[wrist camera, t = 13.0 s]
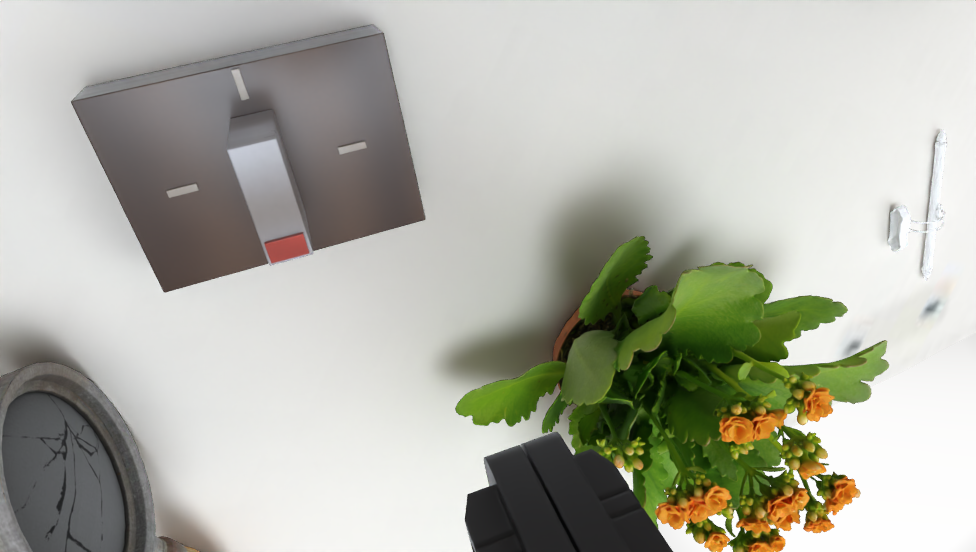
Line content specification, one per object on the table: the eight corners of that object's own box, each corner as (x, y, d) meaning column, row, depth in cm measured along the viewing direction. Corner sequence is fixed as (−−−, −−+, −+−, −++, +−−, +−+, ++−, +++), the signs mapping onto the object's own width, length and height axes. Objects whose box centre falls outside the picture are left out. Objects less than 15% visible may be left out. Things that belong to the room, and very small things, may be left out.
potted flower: (415, 472, 49) (488, 709, 34) (476, 166, 39) (615, 314, 24) (690, 452, 58) (841, 633, 43) (796, 200, 48) (1037, 323, 33)
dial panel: (373, 24, 33) (384, 32, 31) (414, 200, 39) (426, 220, 36) (84, 86, 31) (69, 102, 28) (169, 267, 36) (163, 294, 33)
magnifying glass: (258, 684, 43) (-25, 560, 24) (212, 706, 42) (-111, 597, 24) (235, 506, 51) (14, 313, 33) (197, 523, 51) (-49, 336, 32)
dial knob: (229, 118, 31) (226, 151, 26) (272, 108, 31) (276, 139, 27) (266, 223, 33) (269, 268, 29) (305, 212, 34) (314, 256, 29)
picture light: (925, 276, 56) (947, 287, 55) (883, 296, 56) (904, 308, 54) (942, 126, 49) (968, 134, 47) (893, 147, 48) (917, 156, 47)
